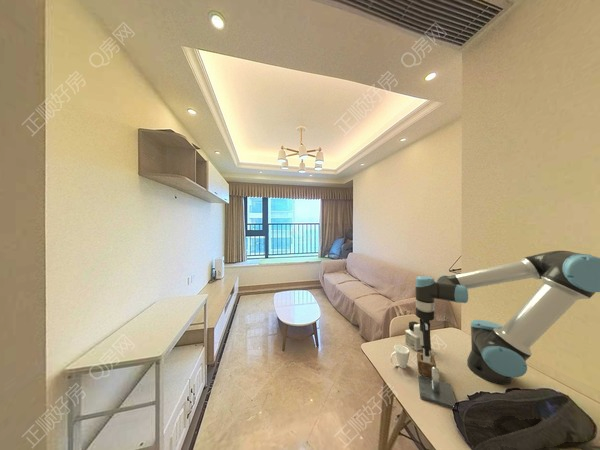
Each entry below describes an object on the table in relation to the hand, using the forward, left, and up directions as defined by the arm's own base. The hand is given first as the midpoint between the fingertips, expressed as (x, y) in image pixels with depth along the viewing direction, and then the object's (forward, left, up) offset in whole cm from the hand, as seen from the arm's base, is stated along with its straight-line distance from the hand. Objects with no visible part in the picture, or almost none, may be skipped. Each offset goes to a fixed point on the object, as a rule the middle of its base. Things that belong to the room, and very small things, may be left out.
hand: (424, 352), depth 92 cm
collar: (0, 0, -9) cm, 9 cm away
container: (+3, -20, -9) cm, 22 cm away
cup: (+11, +1, -9) cm, 14 cm away
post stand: (-2, +12, -9) cm, 15 cm away
